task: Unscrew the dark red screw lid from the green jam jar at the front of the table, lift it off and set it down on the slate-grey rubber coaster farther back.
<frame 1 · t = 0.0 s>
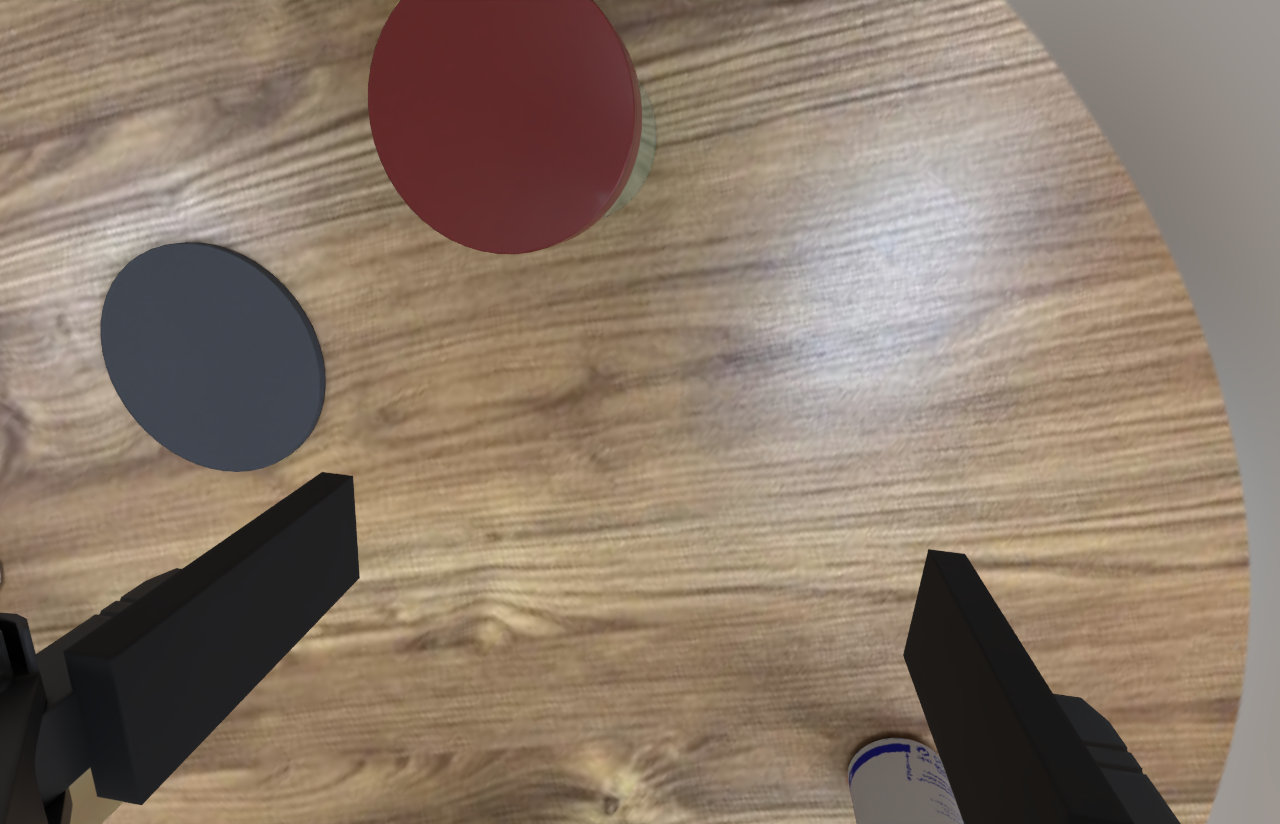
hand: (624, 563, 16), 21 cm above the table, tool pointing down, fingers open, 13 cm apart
jar: (574, 137, 32), on the table
coaster: (216, 361, 39), on the table
cosmetic box: (181, 690, 47), on the table
lid: (502, 114, 22), point 11 cm above the table, screwed on, not yet turned
beverage can: (893, 766, 41), on the table
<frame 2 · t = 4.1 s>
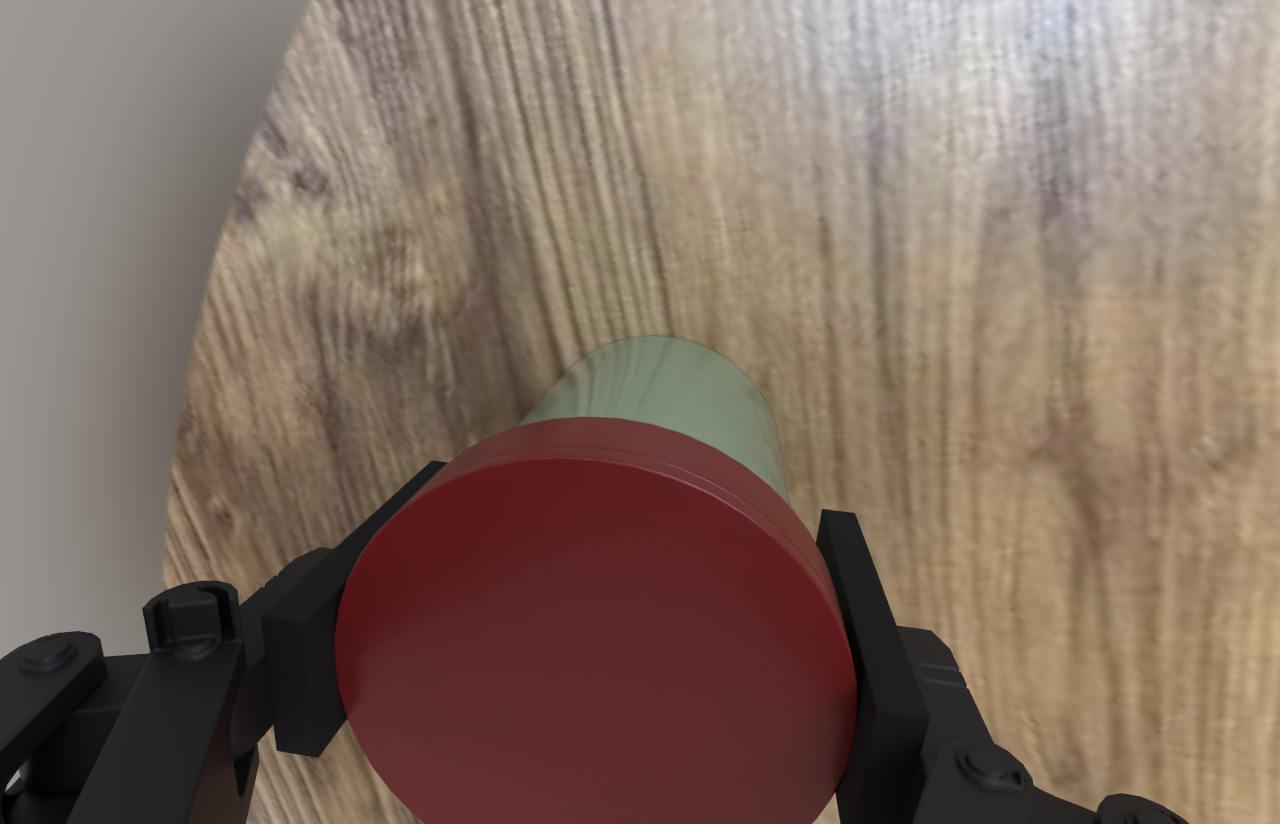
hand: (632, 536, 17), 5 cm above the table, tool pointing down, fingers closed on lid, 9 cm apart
jar: (655, 455, 22), on the table
lid: (588, 686, 12), point 11 cm above the table, screwed on, not yet turned, touching gripper
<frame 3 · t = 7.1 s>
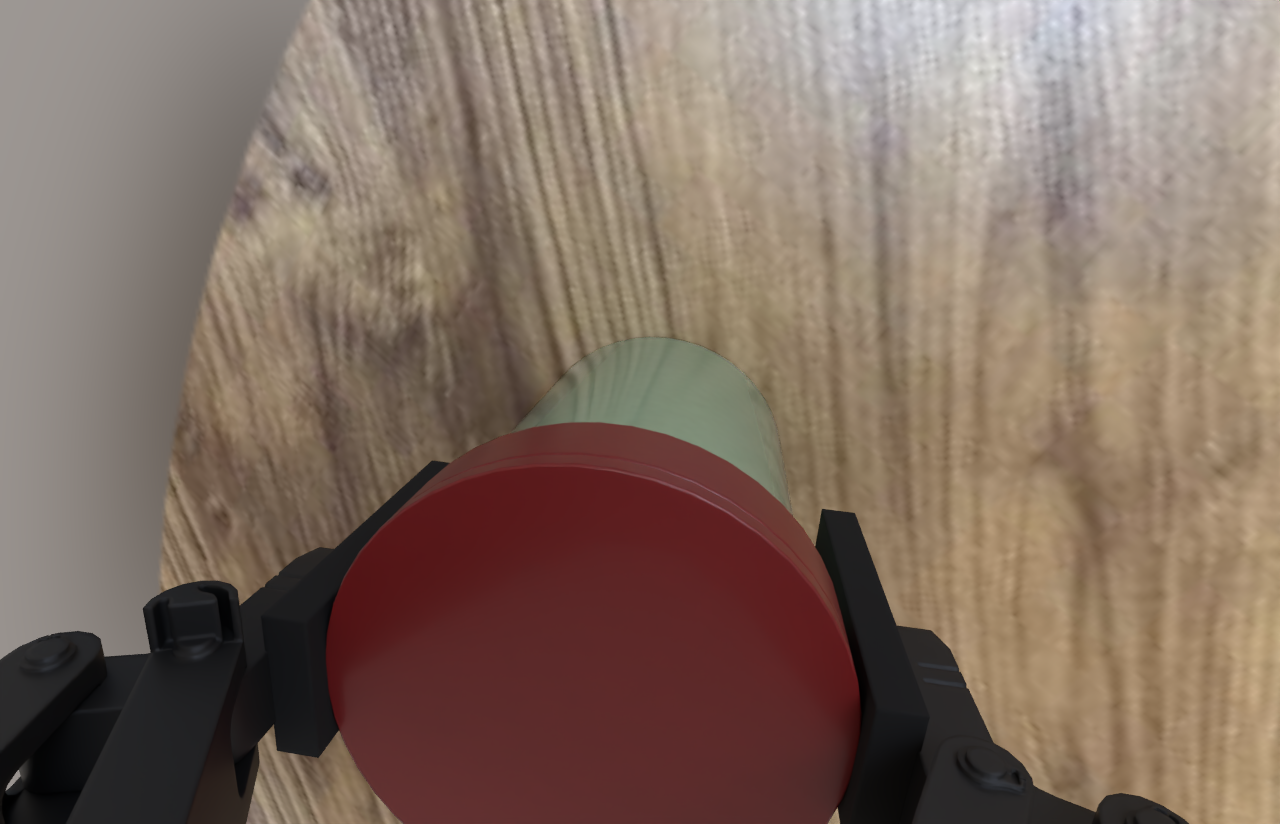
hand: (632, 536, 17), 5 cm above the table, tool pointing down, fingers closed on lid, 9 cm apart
jar: (655, 458, 22), on the table
lid: (585, 698, 12), point 11 cm above the table, turned 94° so far, risen 0.1 cm, still on its thread, touching gripper
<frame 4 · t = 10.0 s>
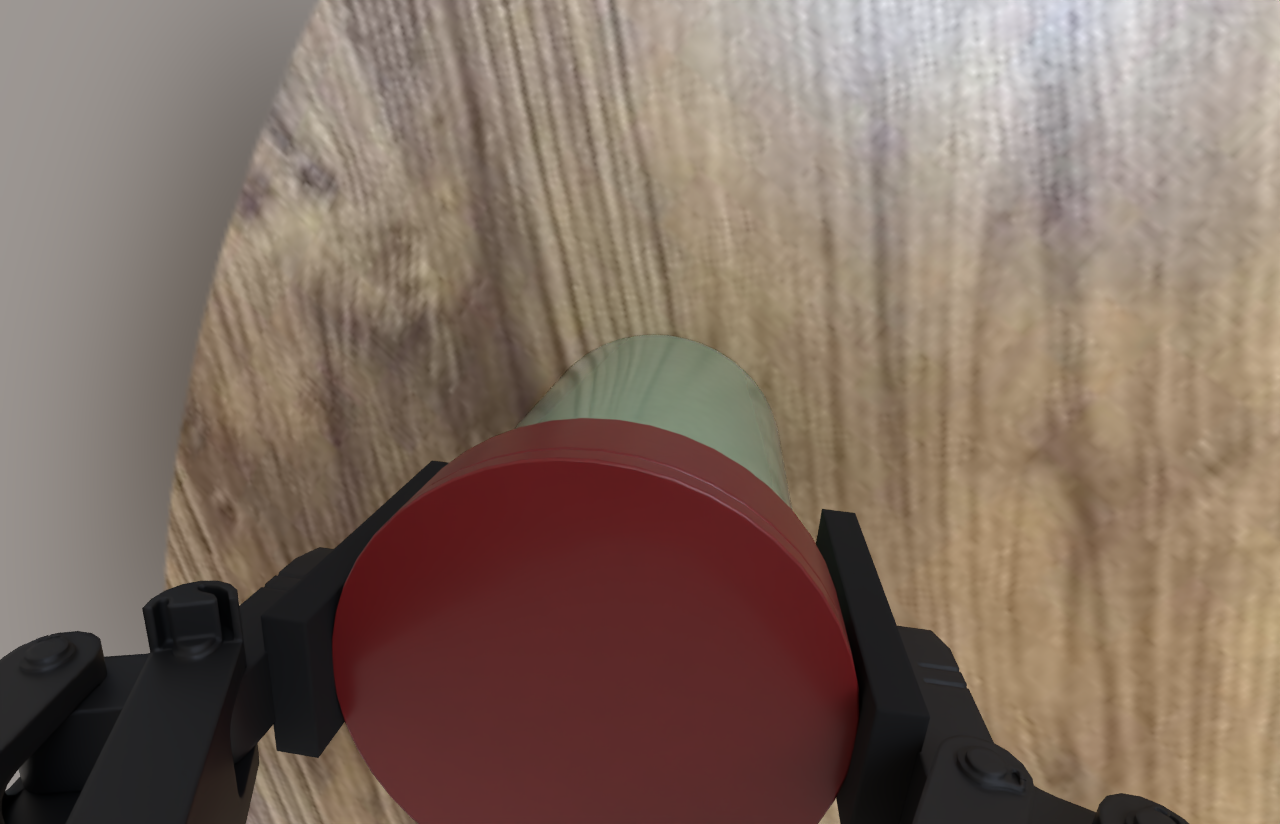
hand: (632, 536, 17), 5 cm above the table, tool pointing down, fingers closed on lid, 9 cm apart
jar: (656, 454, 22), on the table
lid: (588, 690, 12), point 11 cm above the table, turned 188° so far, risen 0.3 cm, still on its thread, touching gripper
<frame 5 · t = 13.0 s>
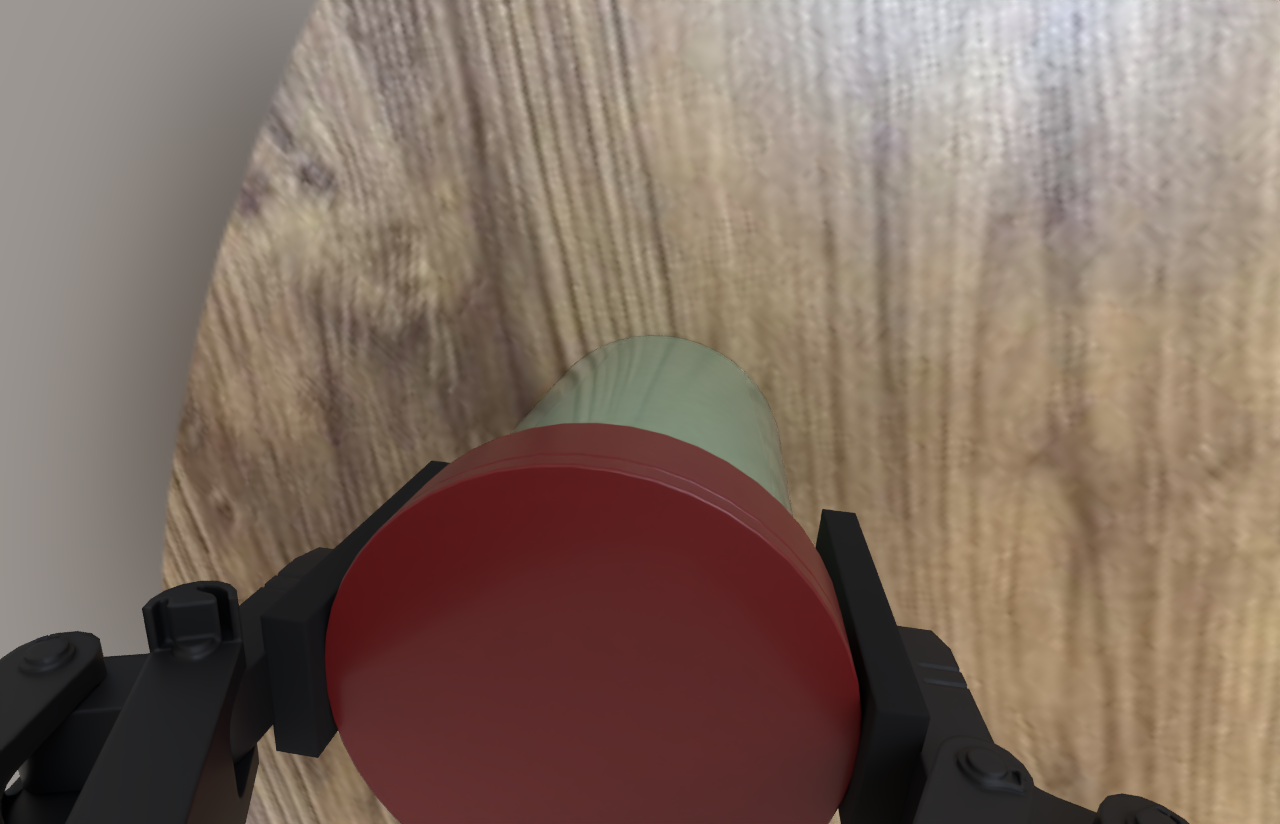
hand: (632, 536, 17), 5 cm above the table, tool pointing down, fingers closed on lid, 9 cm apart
jar: (656, 455, 22), on the table
lid: (585, 699, 11), point 11 cm above the table, turned 283° so far, risen 0.4 cm, still on its thread, touching gripper
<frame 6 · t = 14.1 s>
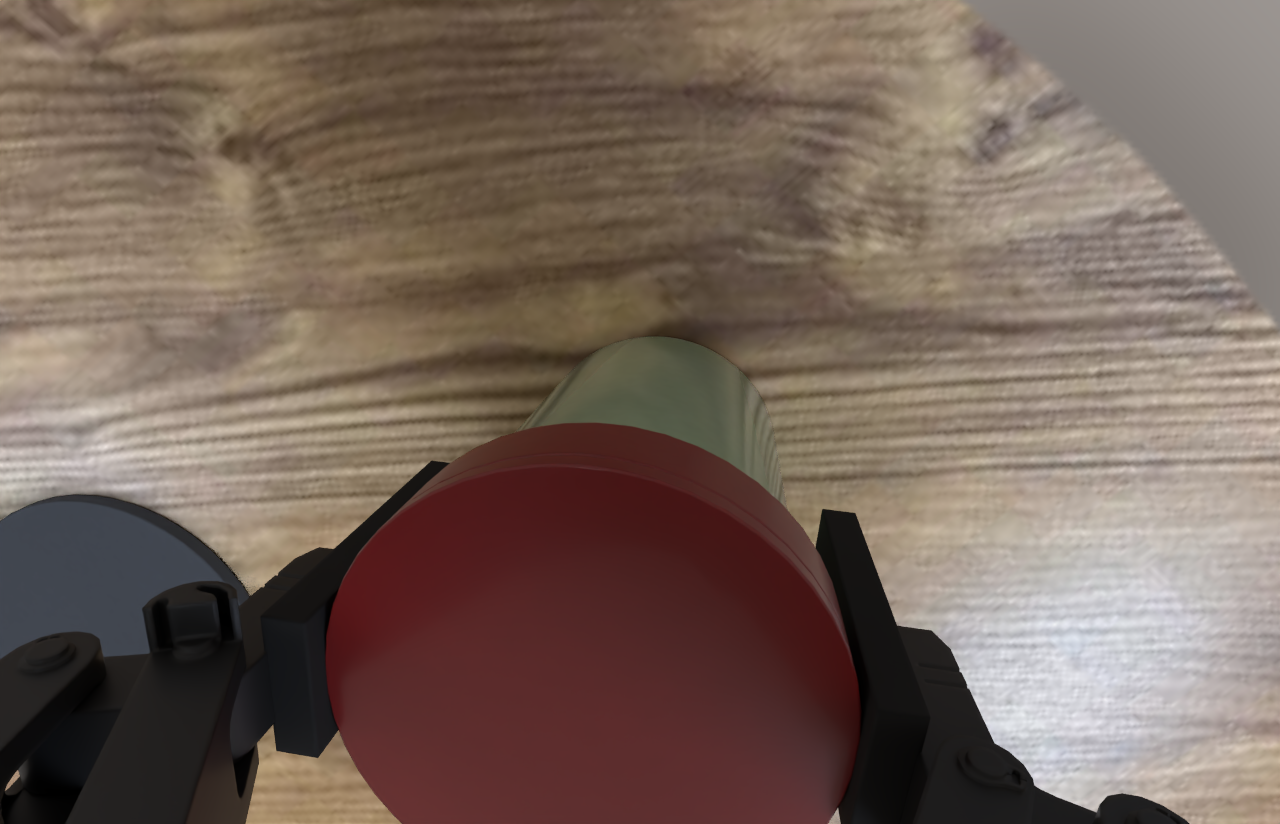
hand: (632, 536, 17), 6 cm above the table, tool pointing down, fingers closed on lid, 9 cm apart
jar: (656, 451, 23), on the table
coaster: (126, 638, 28), on the table
lid: (585, 698, 11), point 12 cm above the table, off its thread, touching gripper
when the fingers open (3 cm above the table, at t = 22.0 s): lid drops 6 cm, resting on coaster.
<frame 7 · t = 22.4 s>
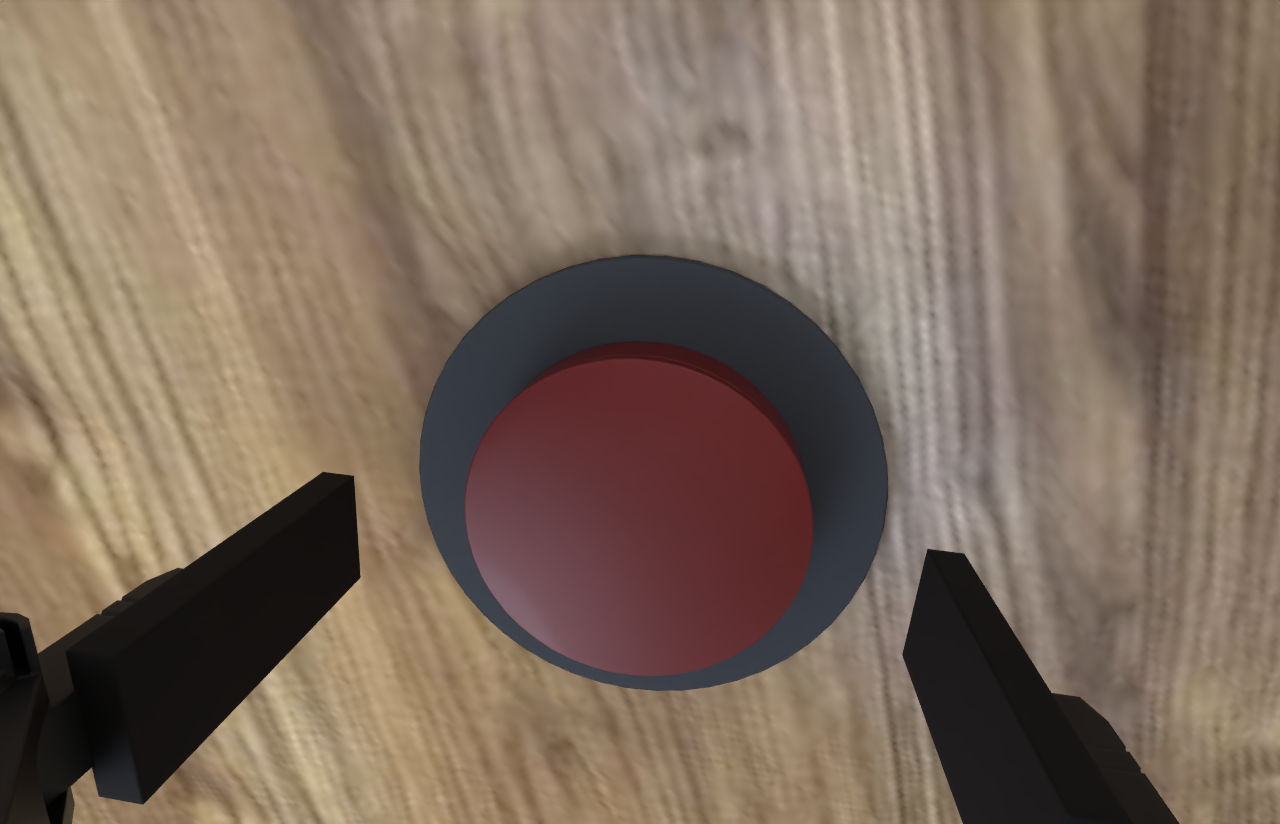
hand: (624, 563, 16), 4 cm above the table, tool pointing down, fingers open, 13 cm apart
coaster: (646, 488, 20), on the table
lid: (635, 522, 18), point 2 cm above the table, off its thread, touching coaster
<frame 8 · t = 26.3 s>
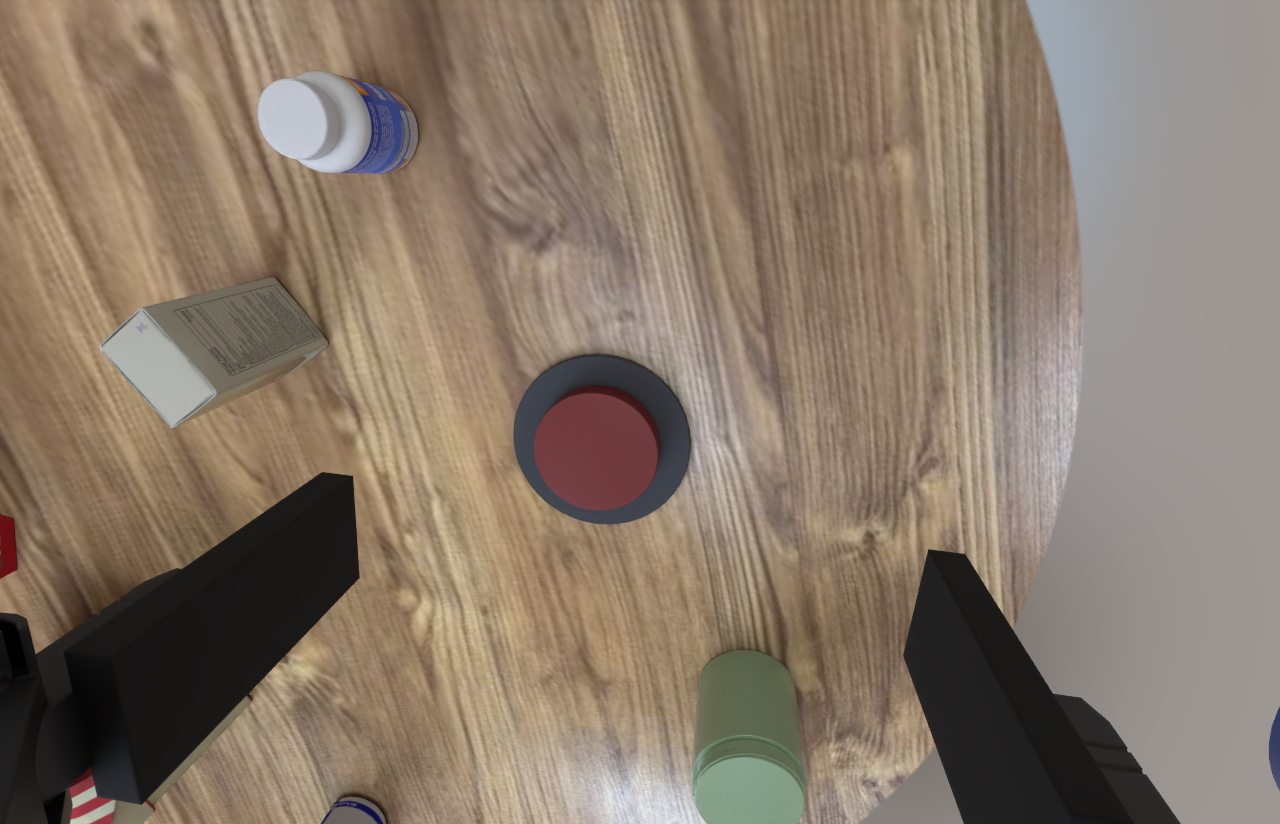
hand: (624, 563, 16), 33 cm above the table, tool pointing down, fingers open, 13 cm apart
gift box: (157, 663, 63), on the table
jar: (746, 690, 55), on the table
pill bottle: (382, 131, 46), on the table
coaster: (601, 440, 50), on the table
cosmetic box: (287, 326, 51), on the table
lid: (596, 451, 48), point 2 cm above the table, off its thread, touching coaster
beverage can: (362, 813, 66), on the table
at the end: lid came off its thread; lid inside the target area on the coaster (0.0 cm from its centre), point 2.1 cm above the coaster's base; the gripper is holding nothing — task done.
